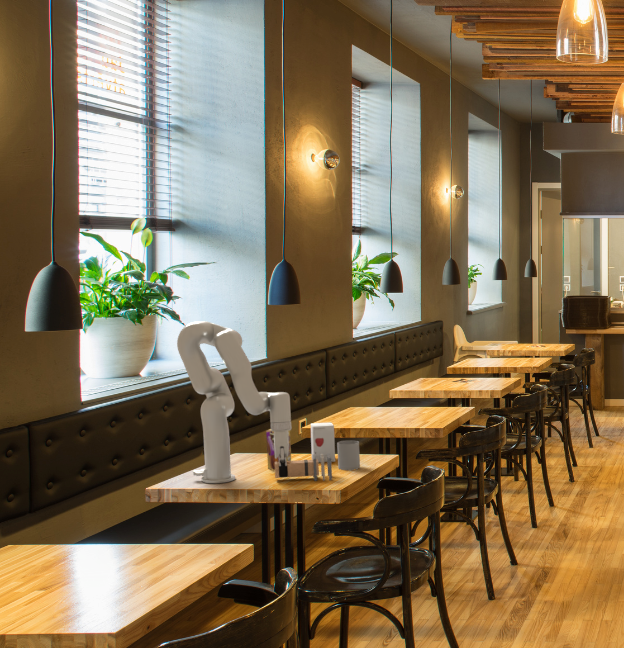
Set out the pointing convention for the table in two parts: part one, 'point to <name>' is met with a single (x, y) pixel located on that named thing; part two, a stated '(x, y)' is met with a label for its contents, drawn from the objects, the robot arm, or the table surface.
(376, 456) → the table surface
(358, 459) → the cup
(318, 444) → the supplement box
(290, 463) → the tall tan block
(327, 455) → the grey open box frame
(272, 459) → the candy box
